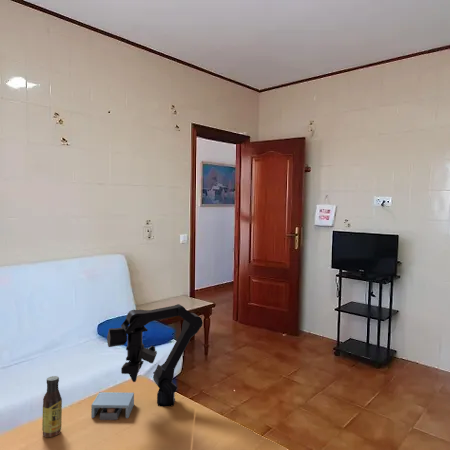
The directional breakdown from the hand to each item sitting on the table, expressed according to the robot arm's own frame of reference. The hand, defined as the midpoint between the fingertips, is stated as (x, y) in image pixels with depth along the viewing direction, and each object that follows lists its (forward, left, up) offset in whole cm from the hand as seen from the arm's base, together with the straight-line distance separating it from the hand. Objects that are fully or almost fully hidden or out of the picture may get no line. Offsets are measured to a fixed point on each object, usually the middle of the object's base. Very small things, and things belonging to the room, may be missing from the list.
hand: (134, 381), depth 153 cm
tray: (+8, +3, -12) cm, 15 cm away
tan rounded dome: (+8, +3, -11) cm, 14 cm away
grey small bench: (+8, +1, -12) cm, 14 cm away
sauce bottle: (+26, +15, -12) cm, 32 cm away
